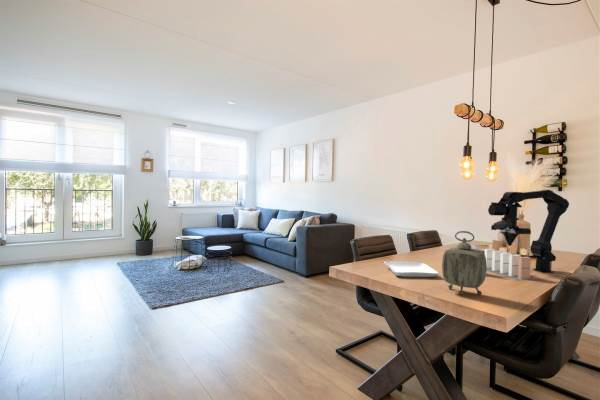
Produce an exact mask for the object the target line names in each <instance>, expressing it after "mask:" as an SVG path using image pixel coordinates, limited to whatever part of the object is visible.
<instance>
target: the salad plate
mask: <svg viewBox="0 0 600 400" xmlns="http://www.w3.org/2000/svg"><path fill="white" fill-rule="evenodd" d="M383 263H384V264H385V266H386V267H387V268H388V269H389V270H391V272H392V273H393V274H394V275H395V276H398V277H401V276H402V277H403V278H404V277H405V278H407V277H408V278H433V277H437V276H438V275H439V274H440V273H439V272H438V271H437V270H436V269H434V268H432V267H430V266H429V265H428V264H426V263H424V262H412V261H410V262H409V261H384V262H383Z"/></svg>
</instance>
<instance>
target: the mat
mask: <svg viewBox="0 0 600 400" xmlns="http://www.w3.org/2000/svg"><path fill="white" fill-rule="evenodd" d="M486 272H489V273H493V274H496V275H500V276H502V277H505V278H508V279H511V280H515V281H533V280H538V278H537V277H533V276H530V279H519V278H518V276H509V273H500V271H493V270H492V268H488V269H487V270H486Z"/></svg>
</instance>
